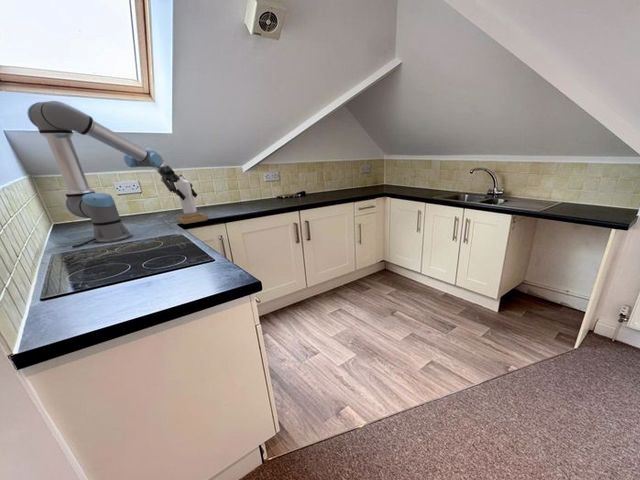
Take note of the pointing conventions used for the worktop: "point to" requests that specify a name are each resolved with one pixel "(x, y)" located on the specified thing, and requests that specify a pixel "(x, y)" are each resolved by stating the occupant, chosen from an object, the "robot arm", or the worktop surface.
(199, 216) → the tray
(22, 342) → the worktop surface
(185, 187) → the milk
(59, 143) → the robot arm
